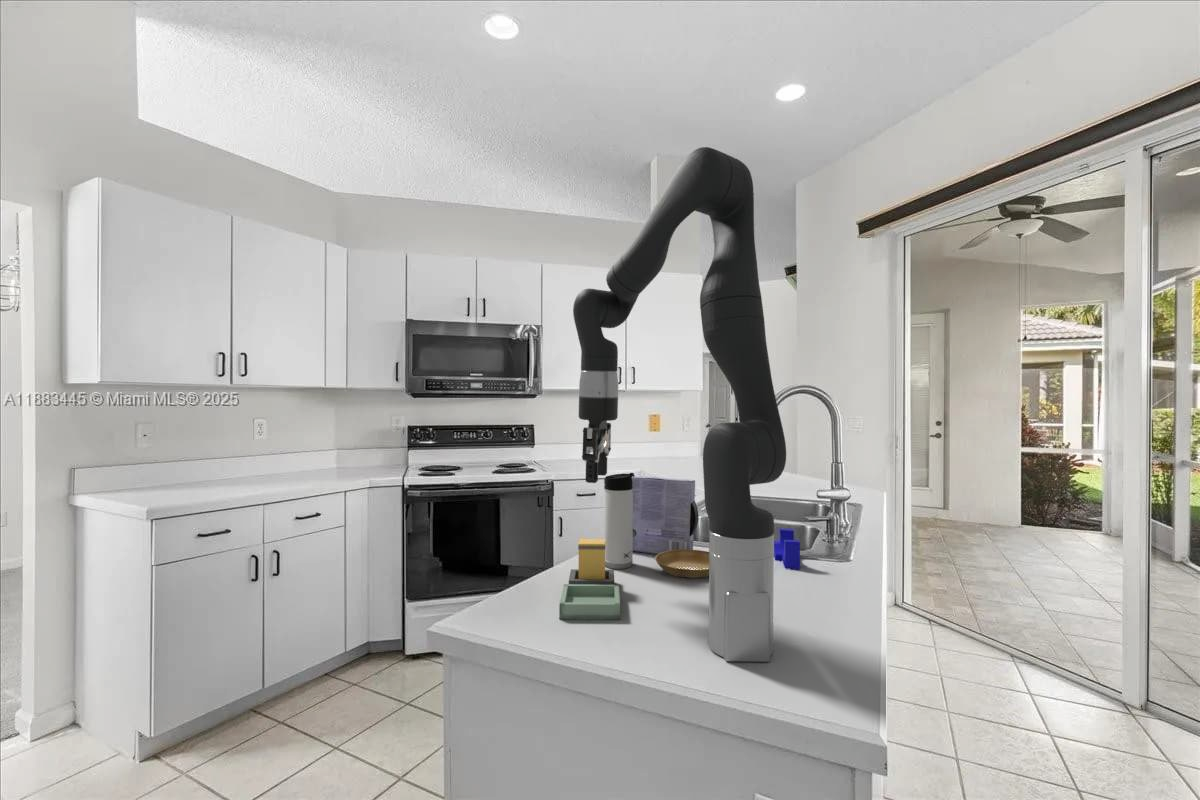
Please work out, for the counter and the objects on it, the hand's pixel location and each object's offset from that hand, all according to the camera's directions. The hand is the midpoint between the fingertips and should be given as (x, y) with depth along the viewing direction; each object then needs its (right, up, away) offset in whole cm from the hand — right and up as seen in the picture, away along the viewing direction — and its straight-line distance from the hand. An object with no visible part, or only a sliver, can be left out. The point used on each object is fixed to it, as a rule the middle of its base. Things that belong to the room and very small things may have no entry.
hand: (596, 478), depth 113 cm
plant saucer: (+20, -21, +11) cm, 31 cm away
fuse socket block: (-1, -21, -1) cm, 21 cm away
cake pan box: (+14, -21, +25) cm, 35 cm away
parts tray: (-1, -21, -11) cm, 24 cm away
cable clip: (+42, -21, +18) cm, 50 cm away
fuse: (-1, -21, -1) cm, 21 cm away
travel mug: (+5, -21, +14) cm, 26 cm away
